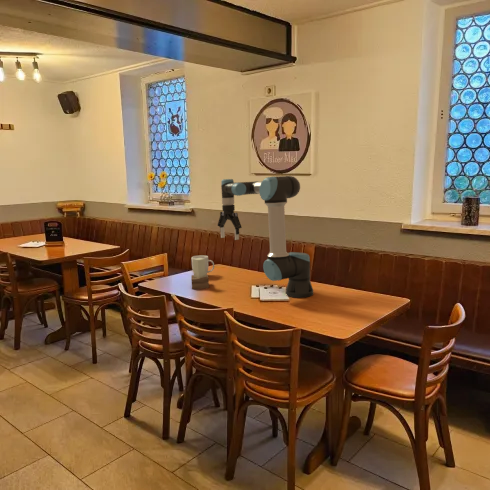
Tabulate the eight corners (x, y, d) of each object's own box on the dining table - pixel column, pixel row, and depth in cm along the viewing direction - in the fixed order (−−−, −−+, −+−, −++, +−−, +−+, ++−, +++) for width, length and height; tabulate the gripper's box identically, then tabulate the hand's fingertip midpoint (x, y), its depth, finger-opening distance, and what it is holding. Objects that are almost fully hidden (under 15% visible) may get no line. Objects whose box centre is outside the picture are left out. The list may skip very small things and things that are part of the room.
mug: (213, 273, 295) (212, 254, 293) (216, 276, 284) (215, 257, 282) (191, 275, 292) (190, 256, 290) (193, 278, 281) (192, 259, 279)
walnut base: (208, 288, 258) (208, 278, 257) (192, 289, 257) (191, 279, 256) (208, 283, 268) (207, 274, 267) (191, 284, 267) (191, 275, 266)
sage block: (205, 276, 261) (204, 258, 259) (198, 278, 258) (197, 260, 256) (200, 275, 265) (199, 257, 263) (194, 276, 261) (193, 259, 259)
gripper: (246, 204, 259) (247, 239, 263) (220, 203, 278) (221, 235, 281) (237, 205, 254) (238, 241, 258) (211, 204, 273) (212, 237, 276)
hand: (229, 238), depth 270 cm, fingers open, 13 cm apart
